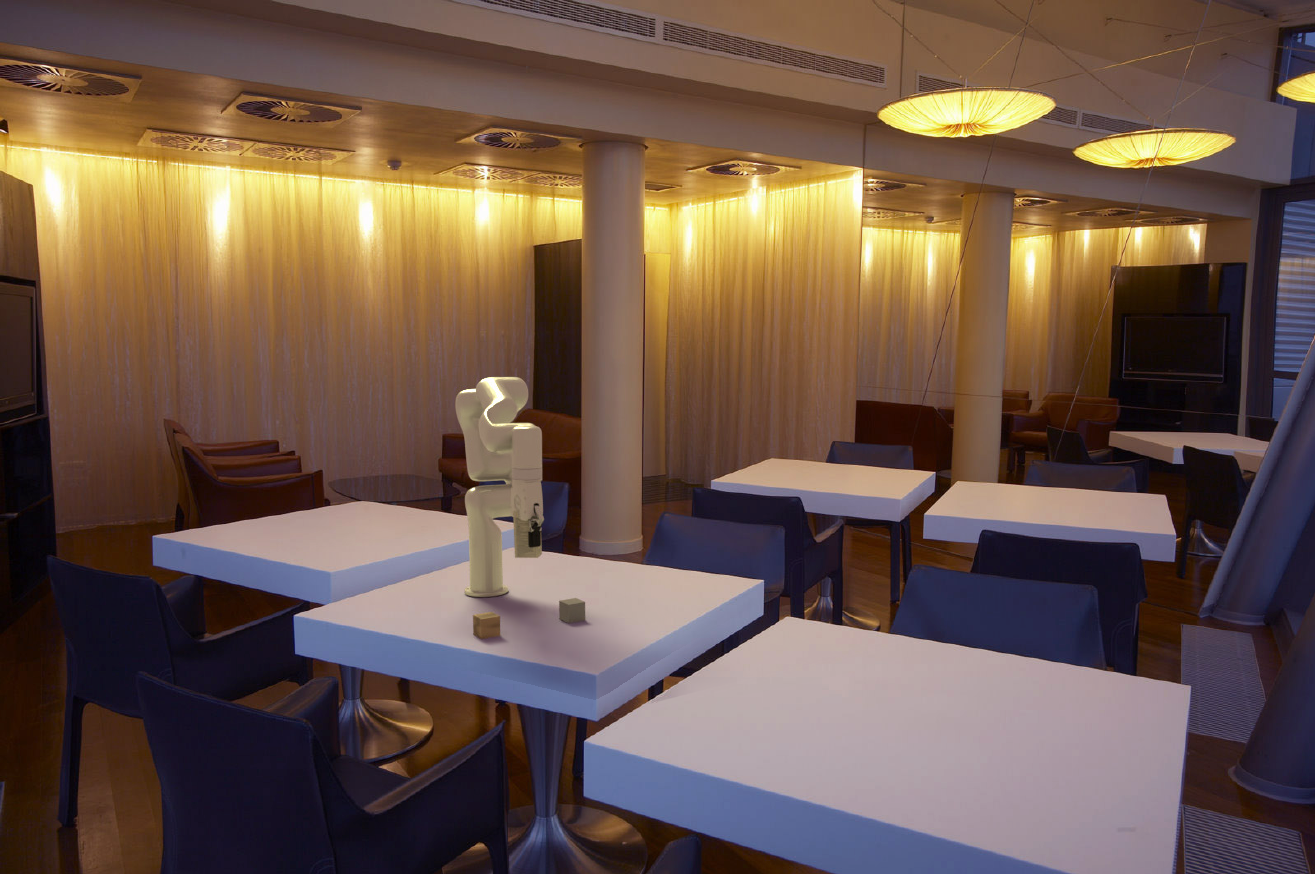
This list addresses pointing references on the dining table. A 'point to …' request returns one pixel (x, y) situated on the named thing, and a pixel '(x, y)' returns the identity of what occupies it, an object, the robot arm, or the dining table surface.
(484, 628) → the walnut block
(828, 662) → the dining table surface
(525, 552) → the skincare box
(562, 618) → the grayish brown block
